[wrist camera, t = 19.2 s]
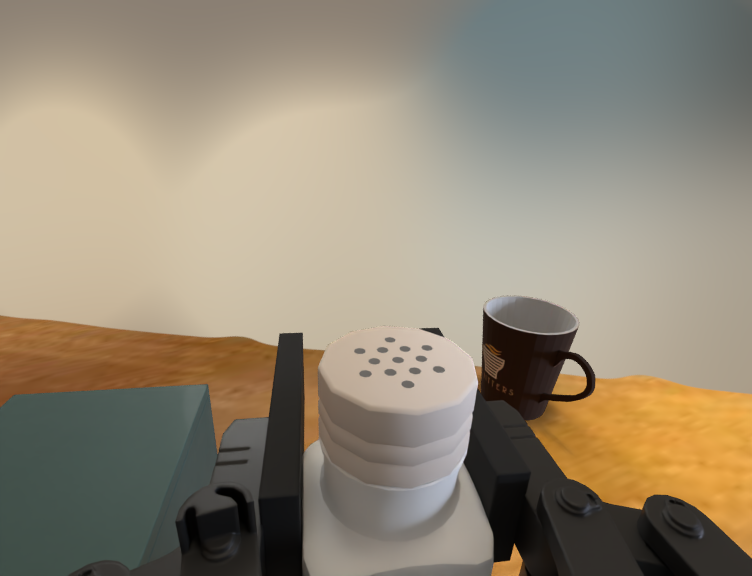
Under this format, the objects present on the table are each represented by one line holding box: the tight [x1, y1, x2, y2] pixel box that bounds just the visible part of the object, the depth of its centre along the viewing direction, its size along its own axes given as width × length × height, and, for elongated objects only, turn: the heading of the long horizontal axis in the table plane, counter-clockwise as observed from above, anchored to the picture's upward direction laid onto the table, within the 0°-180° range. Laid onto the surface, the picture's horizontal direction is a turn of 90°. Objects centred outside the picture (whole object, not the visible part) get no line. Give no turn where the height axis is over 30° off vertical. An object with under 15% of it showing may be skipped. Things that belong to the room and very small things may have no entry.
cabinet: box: [0, 384, 217, 576], centre depth 22 cm, size 15×12×9 cm
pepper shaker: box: [302, 326, 494, 576], centre depth 10 cm, size 4×4×10 cm
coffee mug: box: [481, 296, 595, 420], centre depth 39 cm, size 12×9×10 cm
